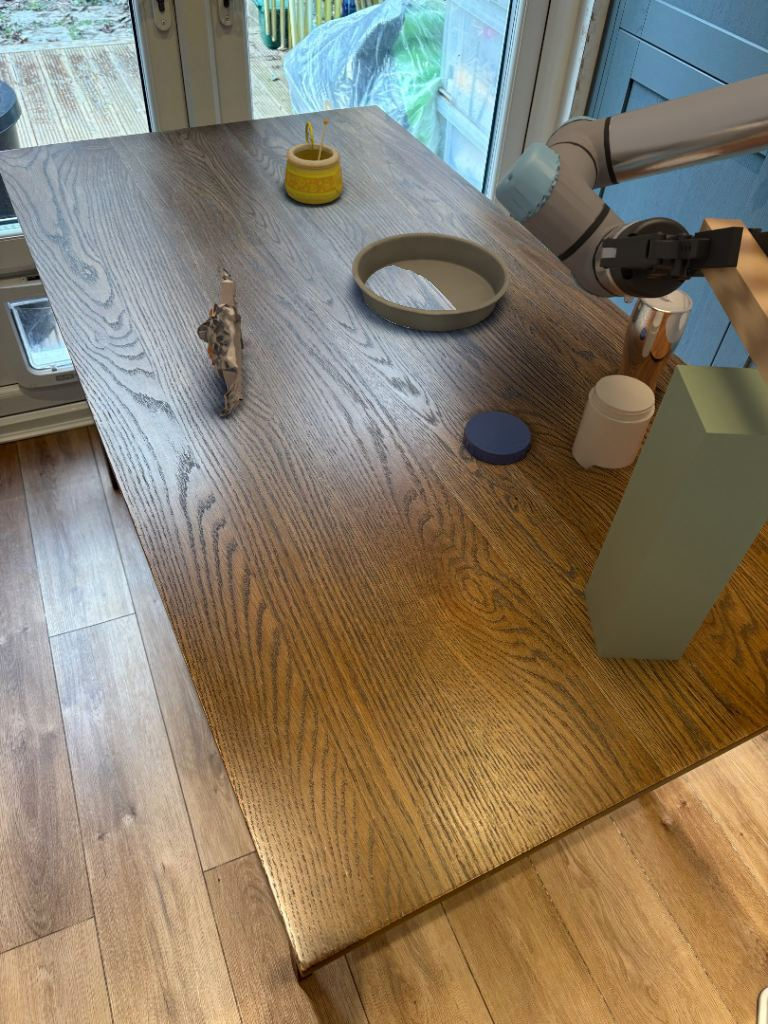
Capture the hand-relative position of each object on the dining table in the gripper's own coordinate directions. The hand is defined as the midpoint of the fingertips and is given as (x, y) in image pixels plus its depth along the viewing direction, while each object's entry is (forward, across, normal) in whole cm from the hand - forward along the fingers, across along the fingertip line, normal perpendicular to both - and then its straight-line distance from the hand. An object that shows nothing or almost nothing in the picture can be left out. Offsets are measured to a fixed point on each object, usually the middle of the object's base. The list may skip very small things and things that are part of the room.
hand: (760, 248), depth 54 cm
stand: (-13, 0, -36) cm, 39 cm away
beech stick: (0, 0, -5) cm, 5 cm away
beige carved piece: (-46, +46, -18) cm, 68 cm away
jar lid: (-37, +11, -21) cm, 44 cm away
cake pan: (-68, +18, -5) cm, 71 cm away
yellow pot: (-98, +38, +12) cm, 106 cm away
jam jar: (-36, -3, -23) cm, 43 cm away
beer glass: (-48, -10, -17) cm, 51 cm away
